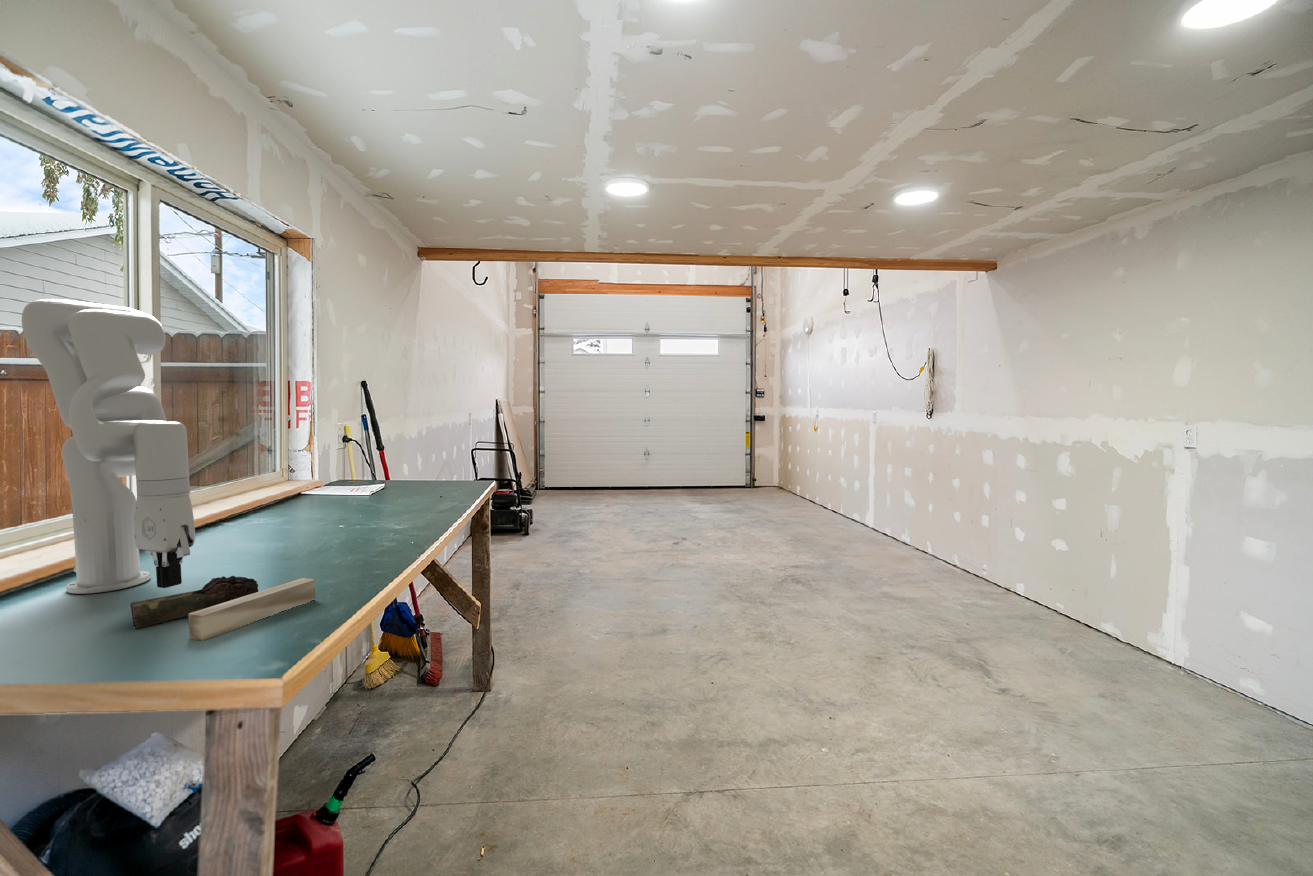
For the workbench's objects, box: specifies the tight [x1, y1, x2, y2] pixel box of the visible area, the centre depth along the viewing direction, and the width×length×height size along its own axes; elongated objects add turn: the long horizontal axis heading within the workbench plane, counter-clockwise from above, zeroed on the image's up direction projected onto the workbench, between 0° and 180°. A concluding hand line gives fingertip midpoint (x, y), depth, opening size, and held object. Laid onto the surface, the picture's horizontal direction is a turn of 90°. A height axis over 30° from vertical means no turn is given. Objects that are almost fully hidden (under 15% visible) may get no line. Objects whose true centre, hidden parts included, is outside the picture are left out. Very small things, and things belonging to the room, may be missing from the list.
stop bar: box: [187, 577, 316, 642], centre depth 101 cm, size 3×20×4 cm, turn 160°
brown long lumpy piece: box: [130, 575, 259, 630], centre depth 104 cm, size 18×7×6 cm, turn 135°
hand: (169, 585), depth 109 cm, fingers closed
